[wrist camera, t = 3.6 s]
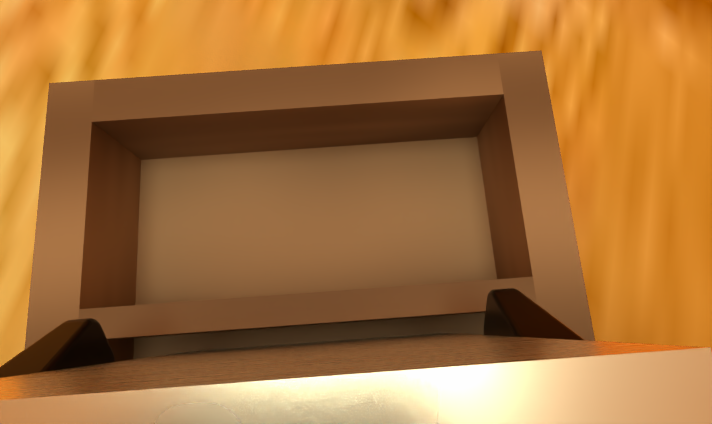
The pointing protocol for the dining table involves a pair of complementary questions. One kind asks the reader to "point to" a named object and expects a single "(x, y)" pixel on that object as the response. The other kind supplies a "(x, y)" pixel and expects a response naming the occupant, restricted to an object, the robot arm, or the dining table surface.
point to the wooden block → (380, 384)
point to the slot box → (302, 204)
